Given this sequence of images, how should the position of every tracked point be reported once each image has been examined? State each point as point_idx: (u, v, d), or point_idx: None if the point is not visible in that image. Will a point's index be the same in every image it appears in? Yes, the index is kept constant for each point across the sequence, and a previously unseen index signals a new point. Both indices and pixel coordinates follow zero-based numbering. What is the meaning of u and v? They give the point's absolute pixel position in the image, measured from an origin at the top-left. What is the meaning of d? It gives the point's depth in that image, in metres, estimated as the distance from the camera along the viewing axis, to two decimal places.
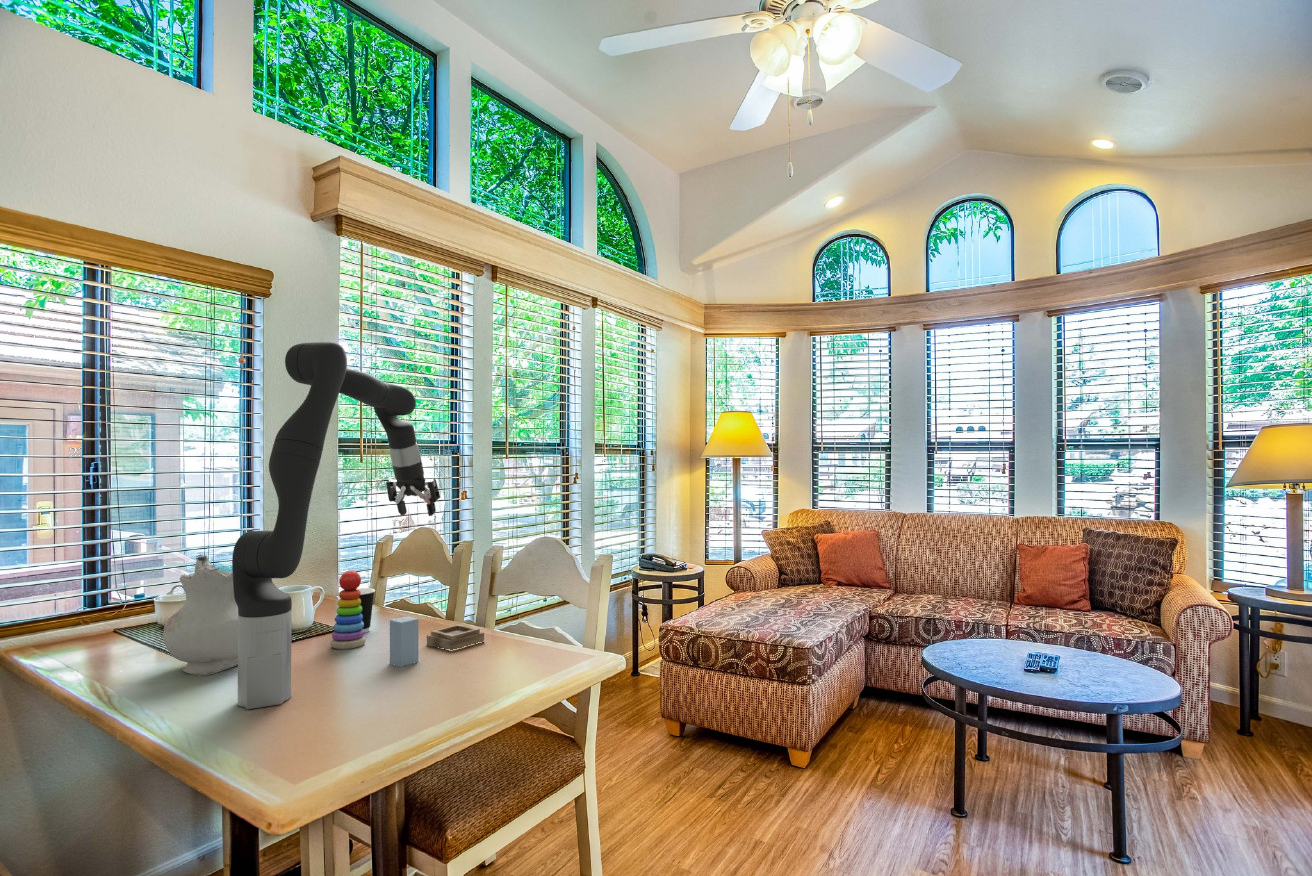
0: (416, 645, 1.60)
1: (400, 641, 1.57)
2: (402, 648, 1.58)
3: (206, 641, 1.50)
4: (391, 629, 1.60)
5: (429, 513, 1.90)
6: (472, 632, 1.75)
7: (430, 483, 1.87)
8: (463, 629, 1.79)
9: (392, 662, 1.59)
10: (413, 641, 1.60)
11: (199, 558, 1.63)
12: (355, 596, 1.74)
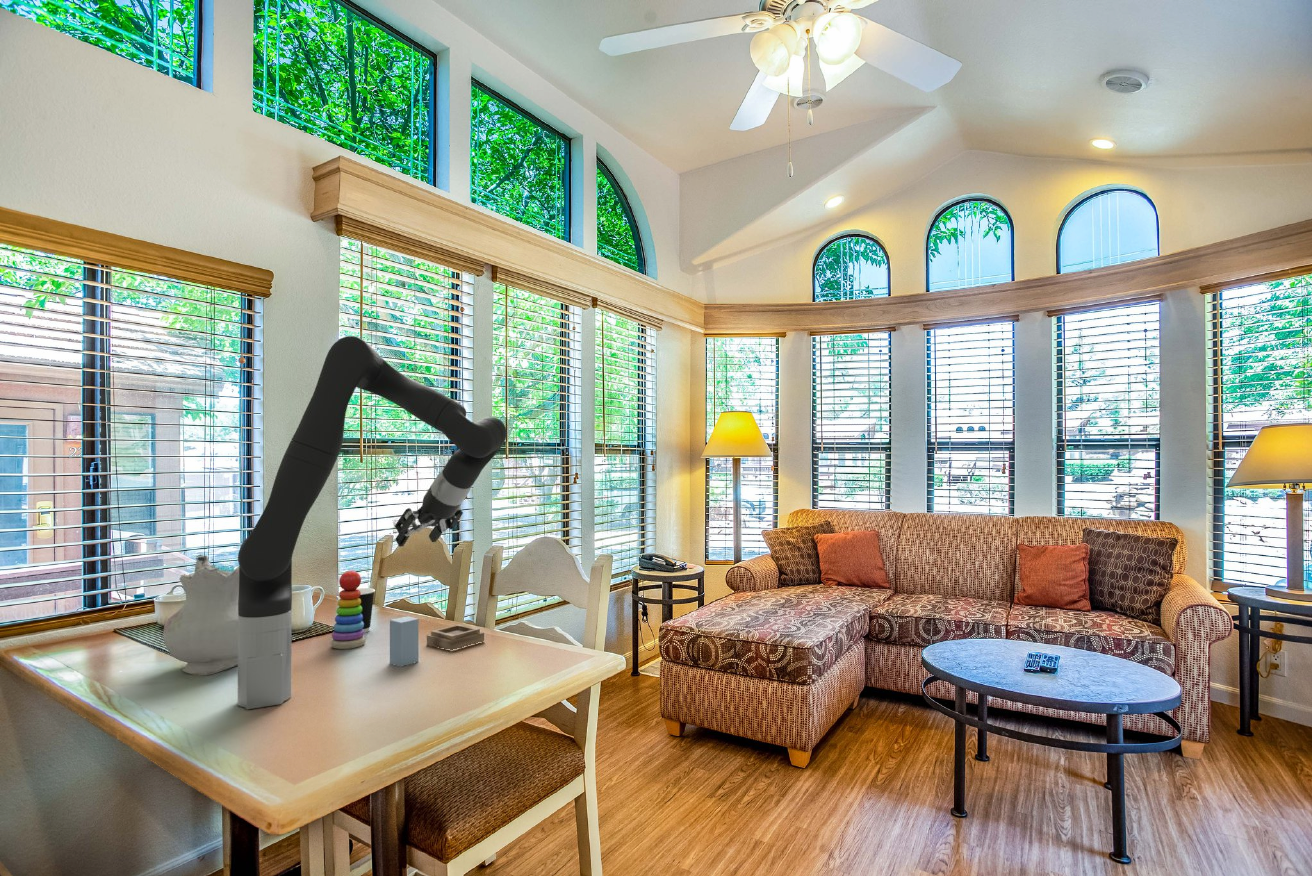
0: (416, 645, 1.60)
1: (400, 641, 1.57)
2: (402, 648, 1.58)
3: (206, 641, 1.50)
4: (391, 629, 1.60)
5: None
6: (472, 632, 1.75)
7: (407, 509, 1.47)
8: (463, 629, 1.79)
9: (392, 662, 1.59)
10: (413, 641, 1.60)
11: (199, 558, 1.63)
12: (355, 596, 1.74)
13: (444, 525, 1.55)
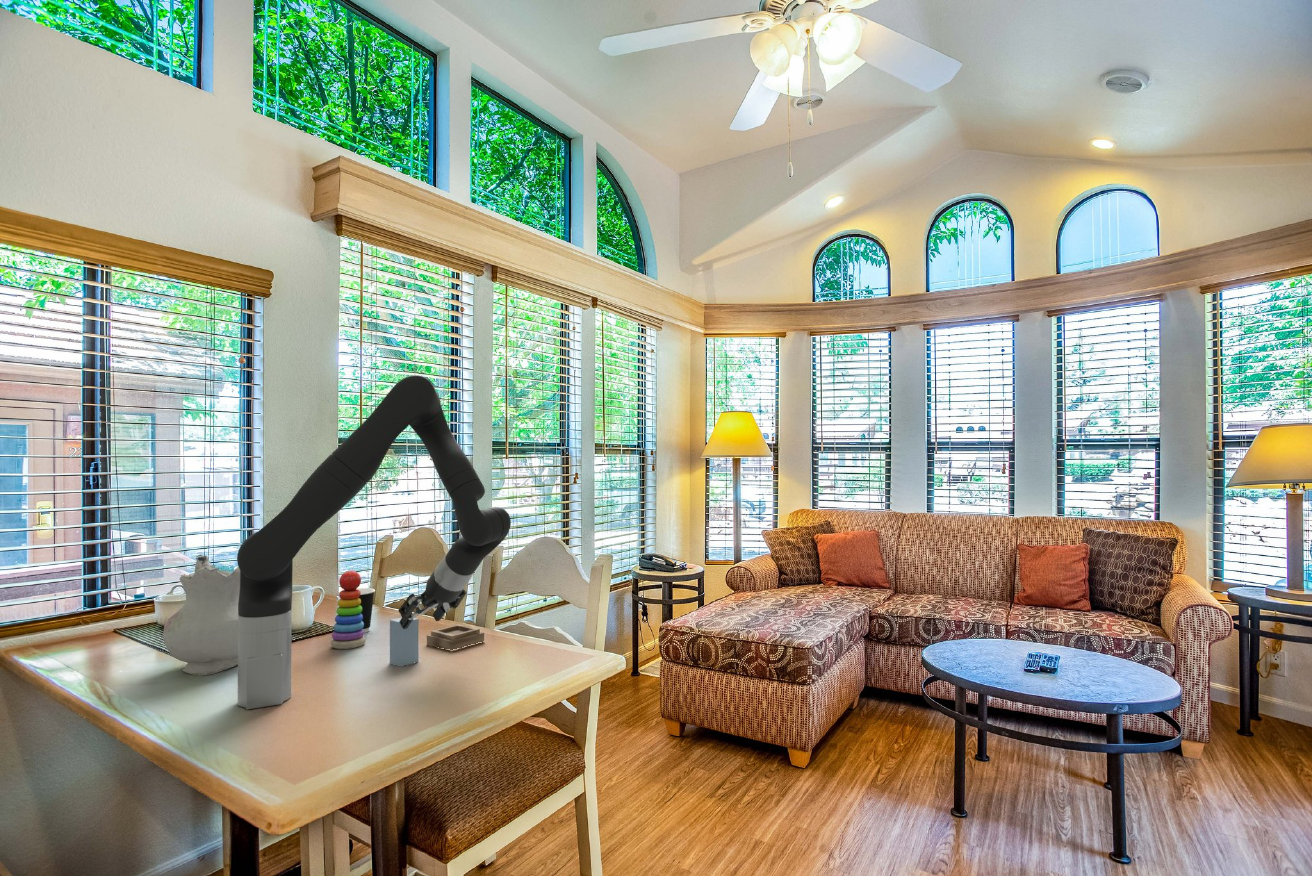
0: (416, 645, 1.60)
1: (400, 641, 1.57)
2: (402, 648, 1.58)
3: (206, 641, 1.50)
4: (391, 629, 1.60)
5: None
6: (472, 632, 1.75)
7: None
8: (463, 629, 1.79)
9: (392, 662, 1.59)
10: (413, 641, 1.60)
11: (199, 558, 1.63)
12: (355, 596, 1.74)
13: (448, 606, 1.56)
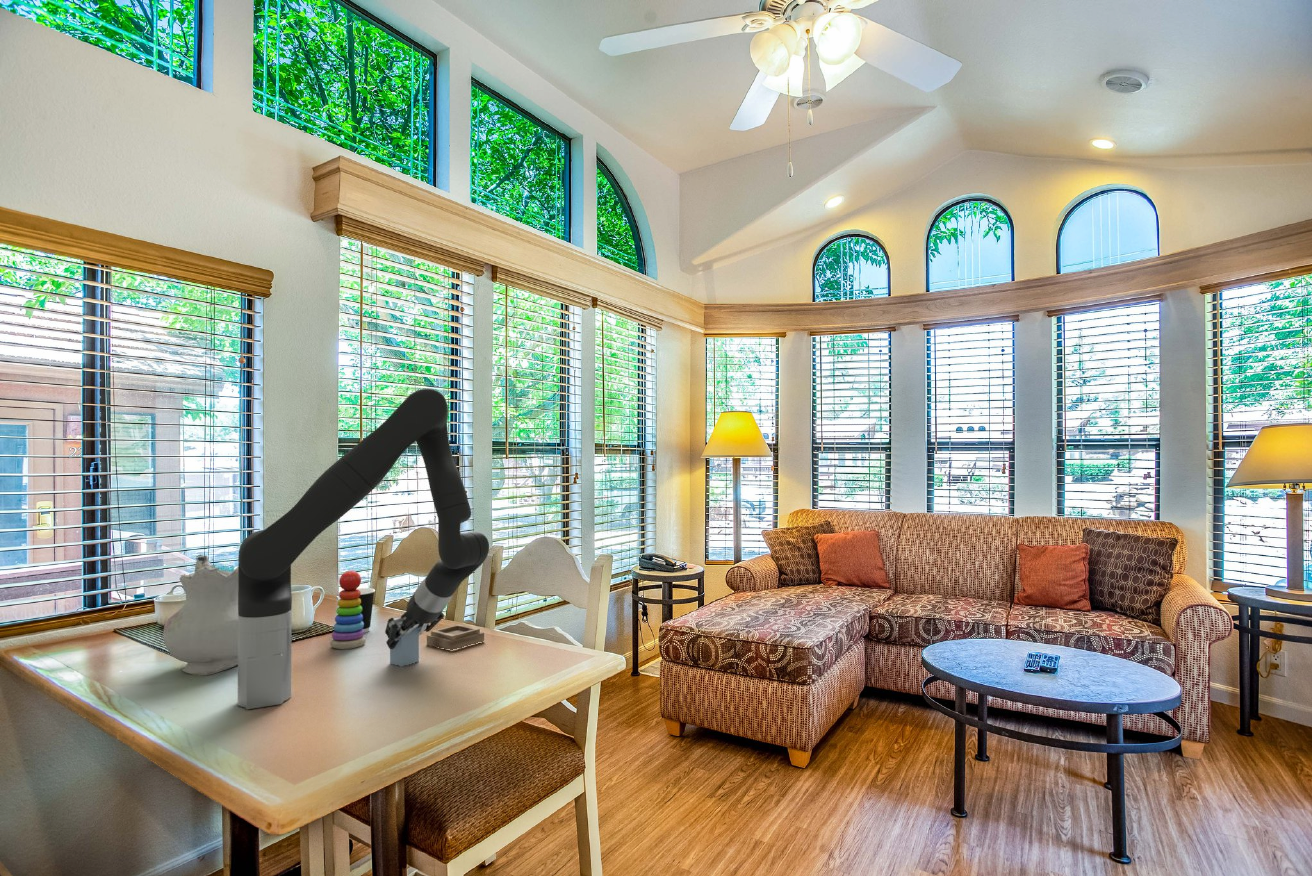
0: (416, 645, 1.61)
1: (401, 641, 1.57)
2: (402, 648, 1.58)
3: (206, 641, 1.50)
4: None
5: None
6: (472, 632, 1.75)
7: (389, 619, 1.53)
8: (463, 629, 1.79)
9: (392, 662, 1.59)
10: (413, 641, 1.60)
11: (199, 558, 1.63)
12: (355, 596, 1.74)
13: (424, 628, 1.60)
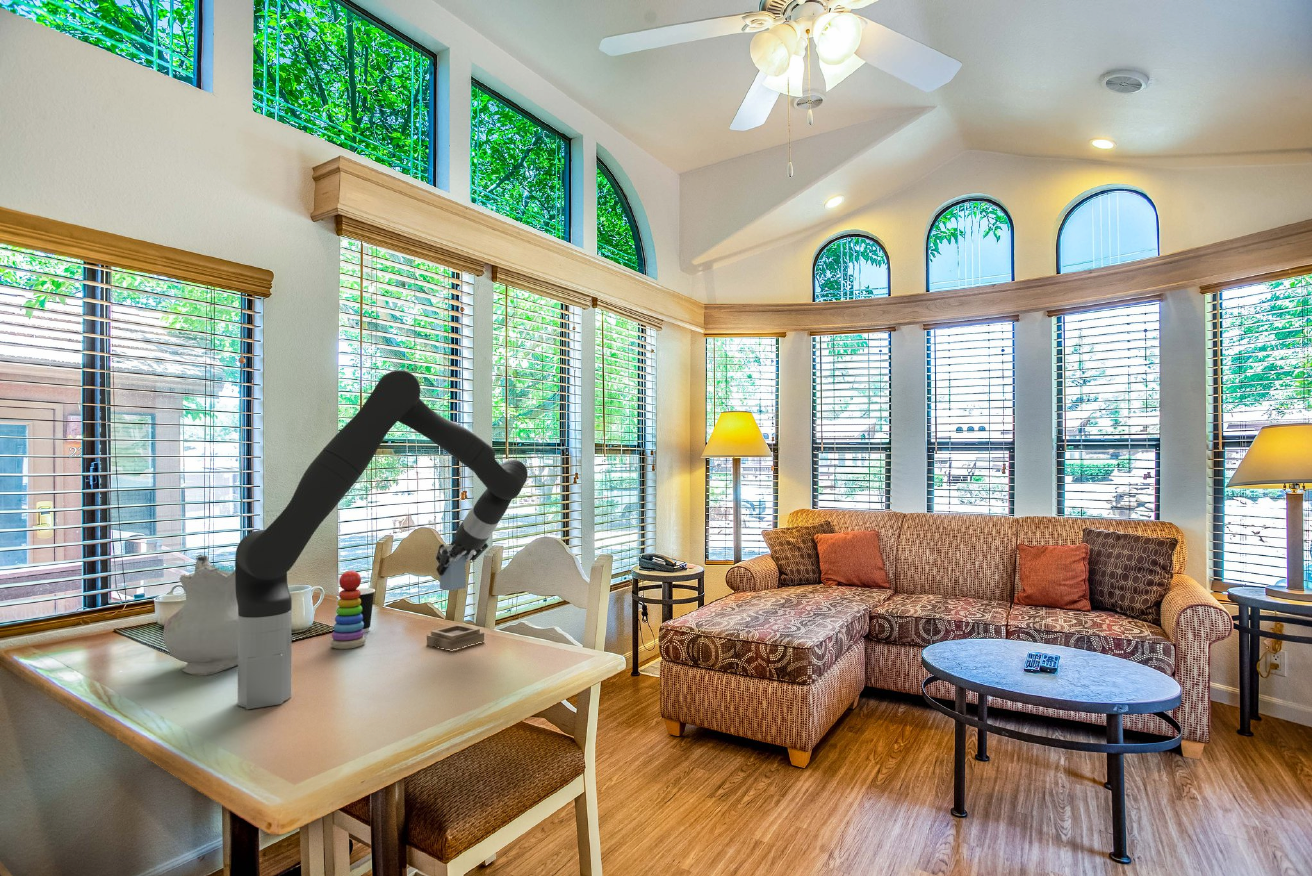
0: (463, 572, 1.75)
1: (450, 567, 1.72)
2: (451, 573, 1.72)
3: (206, 641, 1.50)
4: None
5: None
6: (472, 632, 1.75)
7: None
8: (463, 629, 1.79)
9: (442, 587, 1.74)
10: (461, 568, 1.74)
11: (199, 558, 1.63)
12: (355, 596, 1.74)
13: (470, 556, 1.74)
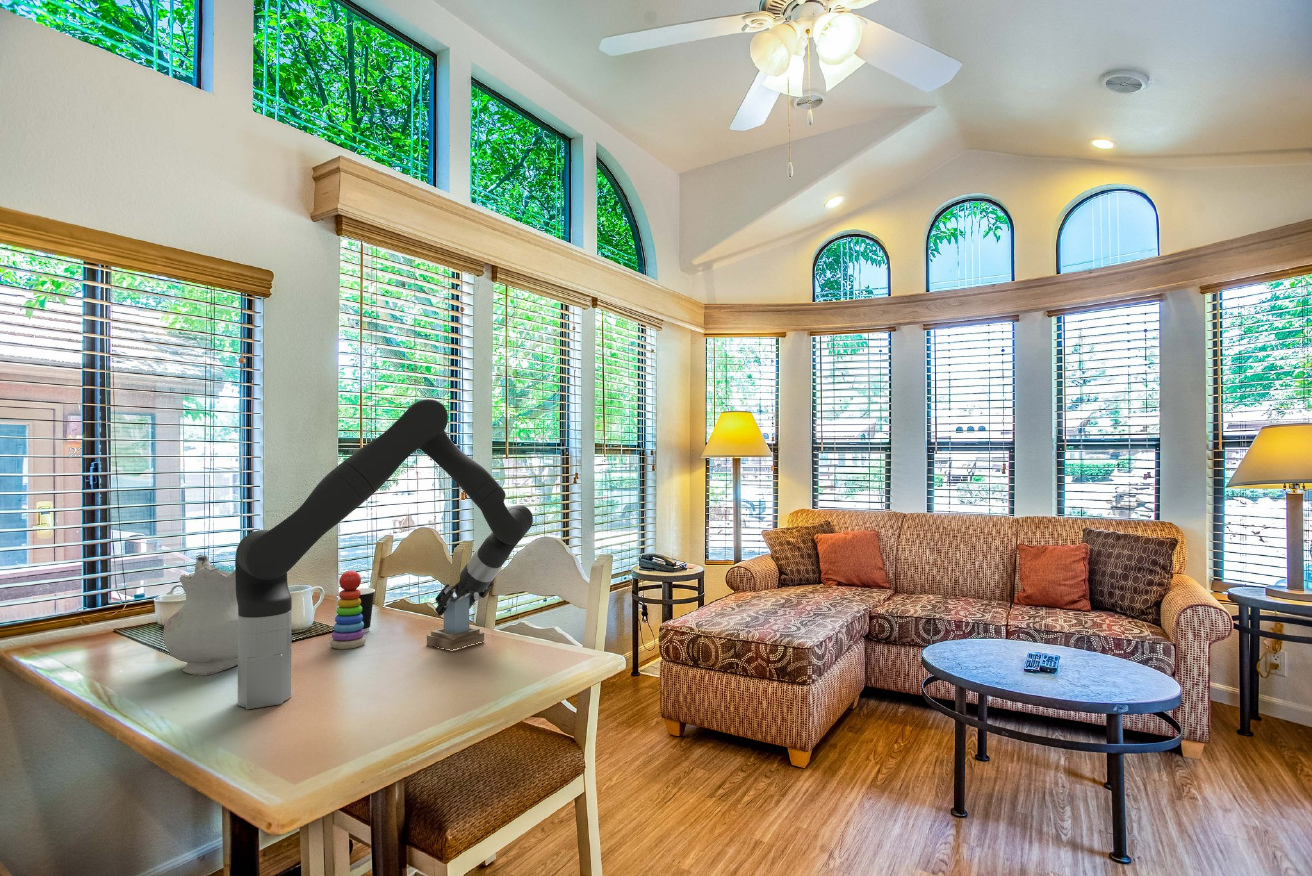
0: (467, 618, 1.76)
1: (454, 613, 1.73)
2: (455, 620, 1.73)
3: (206, 641, 1.50)
4: None
5: None
6: (472, 632, 1.75)
7: (446, 585, 1.68)
8: None
9: None
10: (465, 614, 1.76)
11: (199, 558, 1.63)
12: (355, 596, 1.74)
13: (477, 596, 1.76)
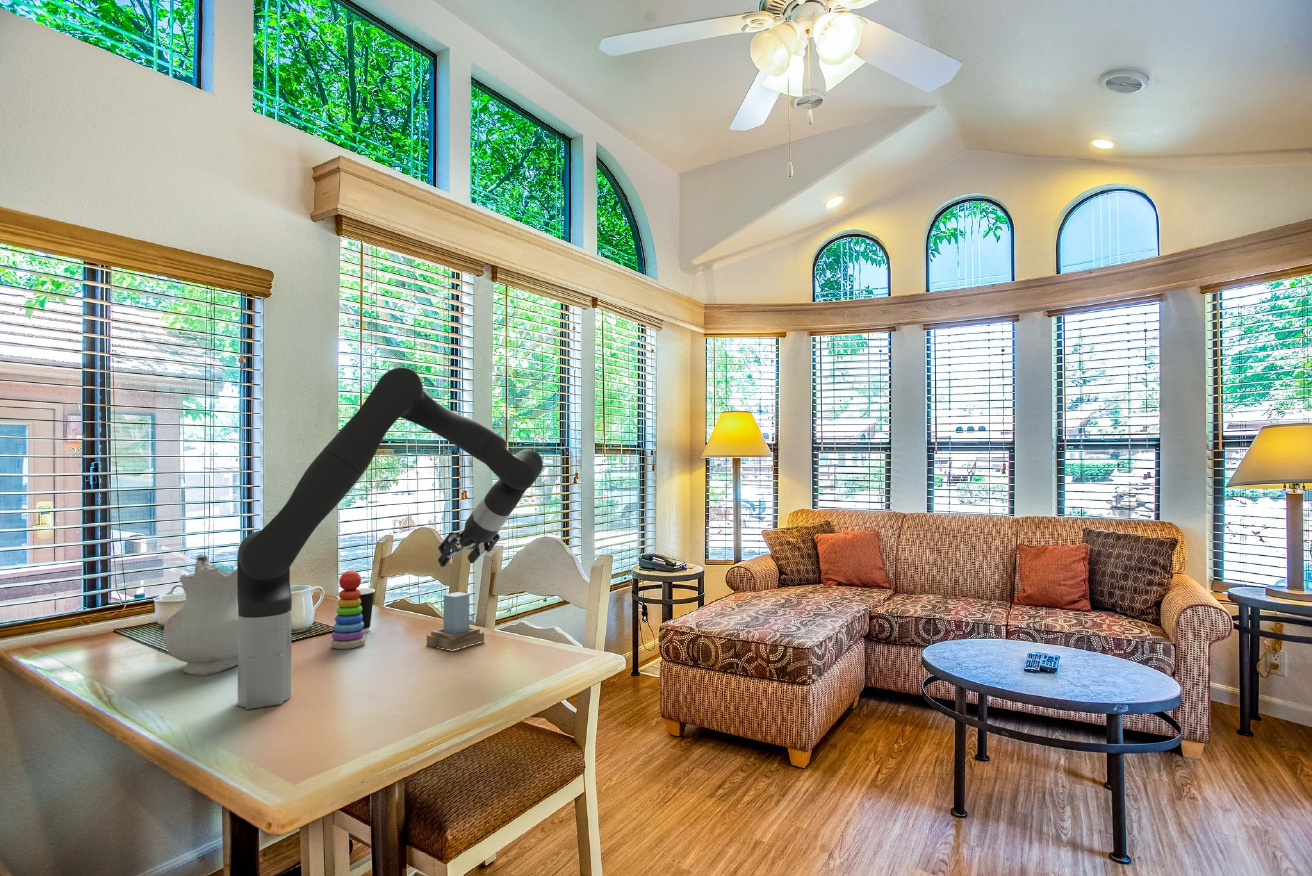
0: (467, 618, 1.76)
1: (454, 613, 1.73)
2: (455, 620, 1.73)
3: (206, 641, 1.50)
4: (445, 603, 1.75)
5: None
6: (472, 632, 1.75)
7: (450, 533, 1.60)
8: None
9: None
10: (465, 614, 1.76)
11: (199, 558, 1.63)
12: (355, 596, 1.74)
13: (482, 548, 1.67)
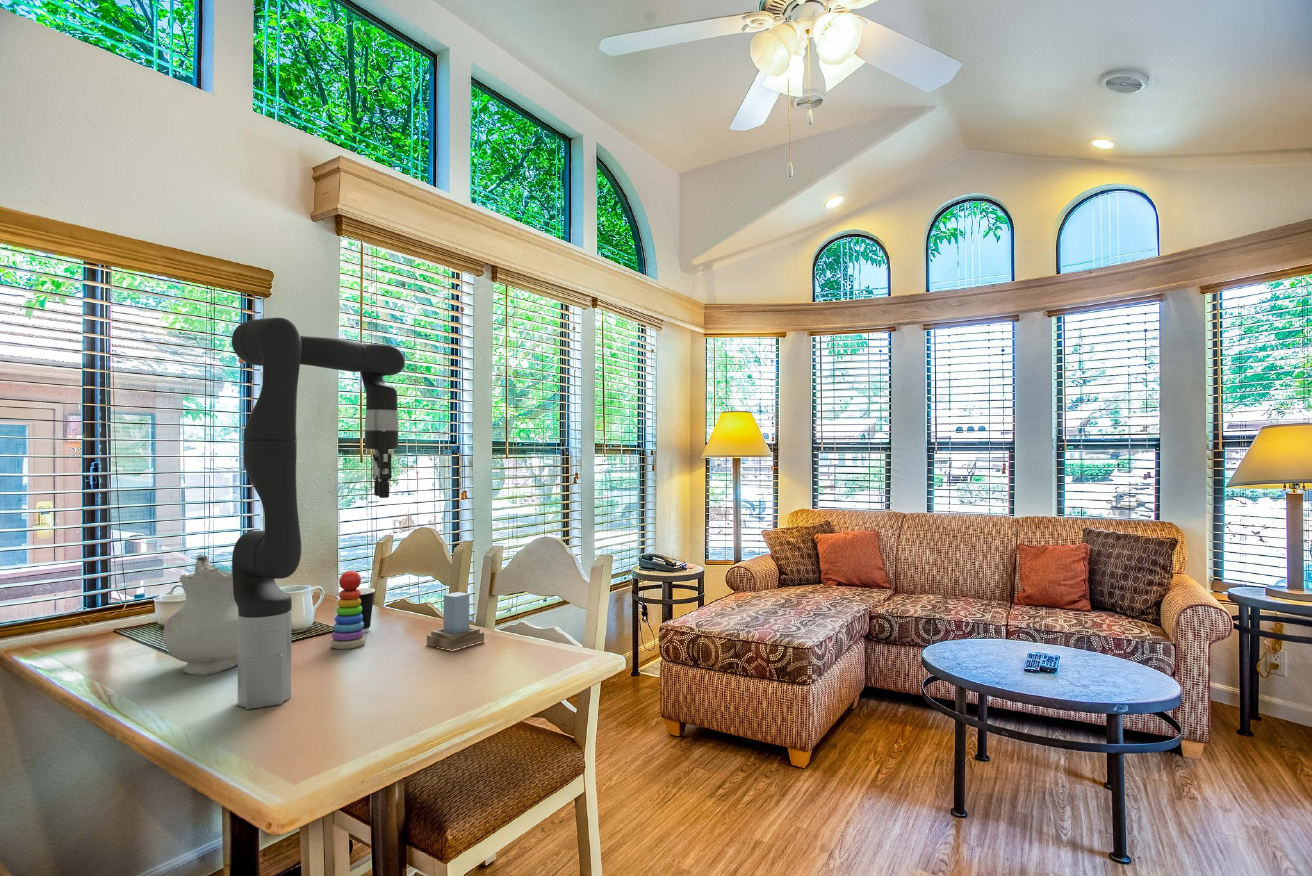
0: (467, 618, 1.76)
1: (454, 613, 1.73)
2: (455, 620, 1.73)
3: (206, 641, 1.50)
4: (445, 603, 1.75)
5: (379, 494, 1.62)
6: (472, 632, 1.75)
7: (379, 455, 1.60)
8: None
9: None
10: (465, 614, 1.76)
11: (199, 558, 1.63)
12: (355, 596, 1.74)
13: None
